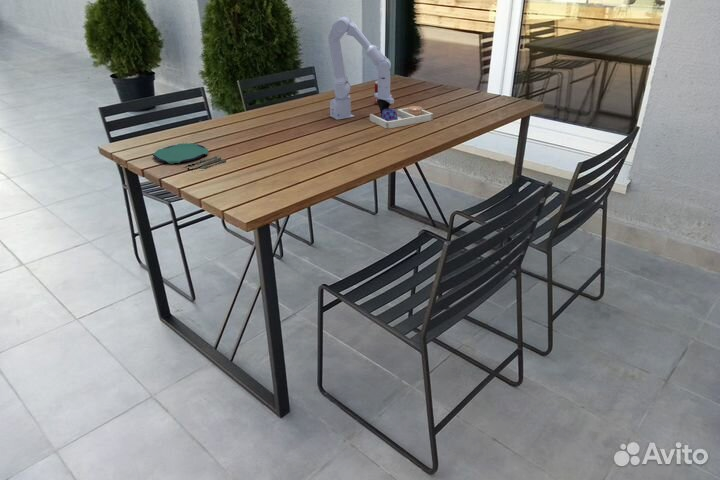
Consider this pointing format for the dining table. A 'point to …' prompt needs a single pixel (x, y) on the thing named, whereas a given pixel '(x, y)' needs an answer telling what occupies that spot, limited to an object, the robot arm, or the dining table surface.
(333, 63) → the robot arm
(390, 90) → the canned food
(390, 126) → the serving frame
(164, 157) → the cutlery set
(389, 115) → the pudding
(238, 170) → the dining table surface
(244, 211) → the dining table surface
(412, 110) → the ramekin
